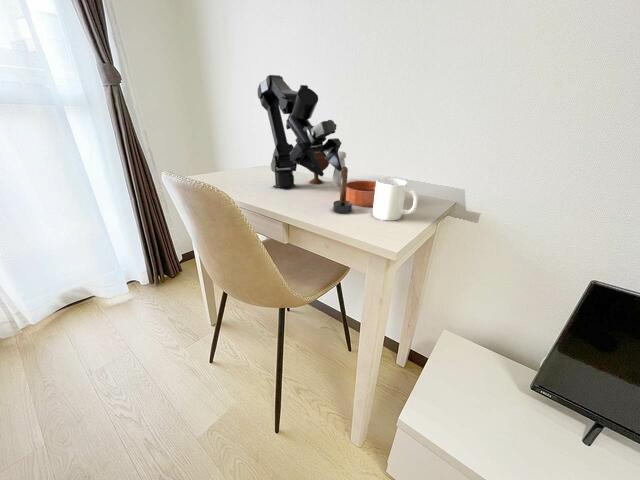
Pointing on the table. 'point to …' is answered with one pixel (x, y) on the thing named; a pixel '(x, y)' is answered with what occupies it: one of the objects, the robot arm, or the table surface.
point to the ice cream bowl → (323, 165)
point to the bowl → (361, 193)
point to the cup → (392, 199)
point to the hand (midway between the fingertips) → (332, 172)
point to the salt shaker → (337, 173)
